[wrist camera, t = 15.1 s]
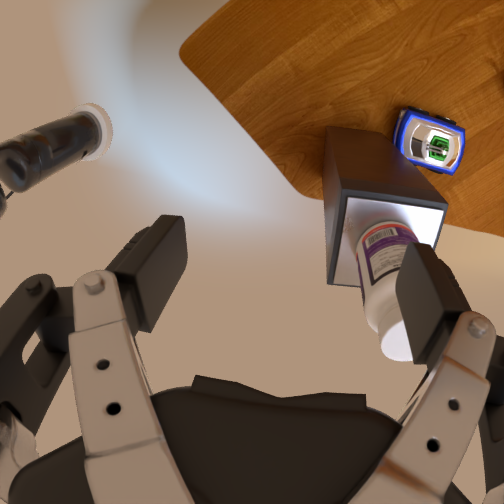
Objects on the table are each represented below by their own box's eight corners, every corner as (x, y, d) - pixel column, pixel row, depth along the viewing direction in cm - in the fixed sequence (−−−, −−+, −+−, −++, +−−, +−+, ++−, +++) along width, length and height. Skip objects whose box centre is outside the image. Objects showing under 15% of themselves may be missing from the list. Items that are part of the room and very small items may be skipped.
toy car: (396, 101, 40) (414, 108, 32) (459, 122, 39) (485, 135, 31) (385, 155, 45) (399, 173, 37) (446, 172, 44) (468, 193, 36)
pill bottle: (402, 281, 25) (425, 372, 17) (346, 267, 25) (353, 362, 17) (428, 229, 22) (472, 314, 14) (368, 210, 22) (394, 296, 14)
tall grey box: (322, 179, 50) (326, 289, 26) (326, 125, 45) (342, 190, 21) (374, 185, 48) (419, 297, 25) (381, 132, 43) (450, 206, 20)
